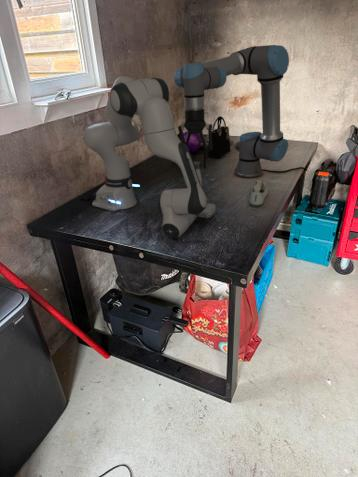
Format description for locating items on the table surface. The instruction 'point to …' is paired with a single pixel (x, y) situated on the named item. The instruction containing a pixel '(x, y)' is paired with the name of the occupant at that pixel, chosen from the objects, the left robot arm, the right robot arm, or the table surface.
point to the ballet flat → (258, 193)
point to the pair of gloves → (208, 142)
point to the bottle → (199, 175)
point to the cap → (197, 164)
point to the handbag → (220, 140)
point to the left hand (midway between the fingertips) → (197, 200)
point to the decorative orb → (193, 142)
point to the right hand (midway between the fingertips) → (196, 167)
